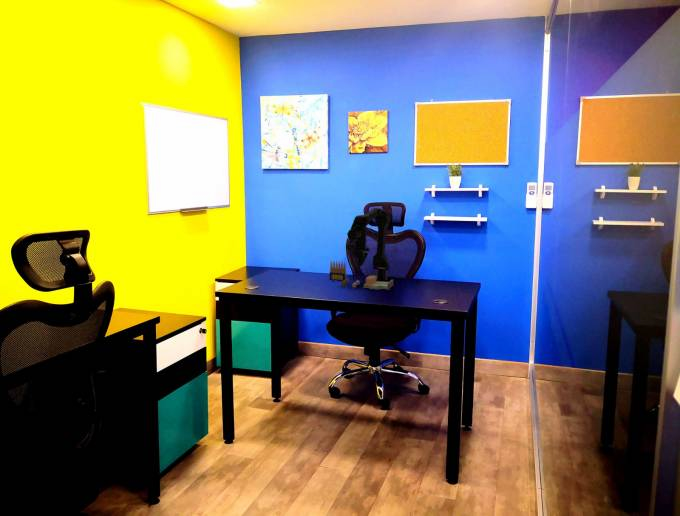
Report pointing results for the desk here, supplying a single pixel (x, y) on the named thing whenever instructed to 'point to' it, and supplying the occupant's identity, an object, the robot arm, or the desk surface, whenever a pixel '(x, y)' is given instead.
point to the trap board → (375, 286)
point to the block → (371, 280)
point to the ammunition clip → (337, 271)
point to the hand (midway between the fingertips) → (360, 265)
